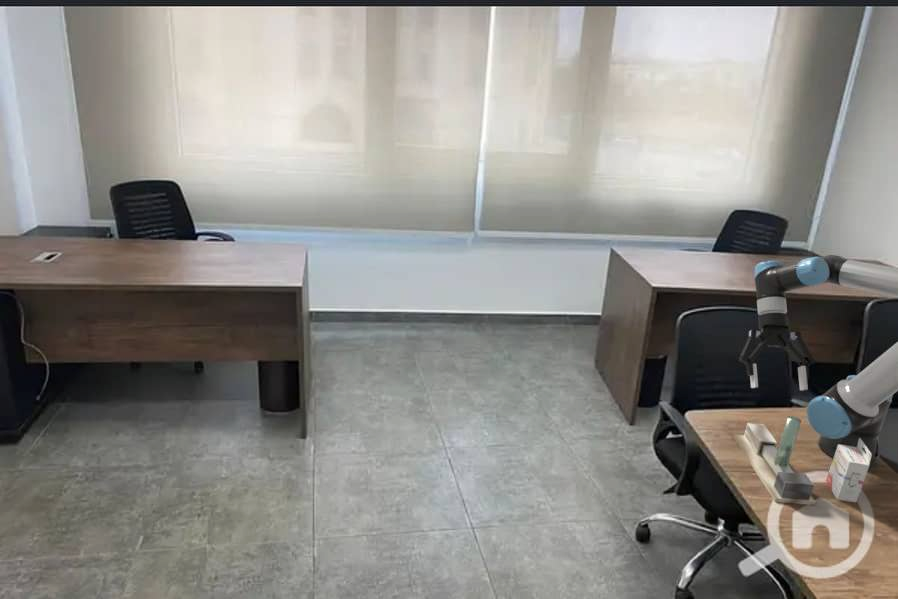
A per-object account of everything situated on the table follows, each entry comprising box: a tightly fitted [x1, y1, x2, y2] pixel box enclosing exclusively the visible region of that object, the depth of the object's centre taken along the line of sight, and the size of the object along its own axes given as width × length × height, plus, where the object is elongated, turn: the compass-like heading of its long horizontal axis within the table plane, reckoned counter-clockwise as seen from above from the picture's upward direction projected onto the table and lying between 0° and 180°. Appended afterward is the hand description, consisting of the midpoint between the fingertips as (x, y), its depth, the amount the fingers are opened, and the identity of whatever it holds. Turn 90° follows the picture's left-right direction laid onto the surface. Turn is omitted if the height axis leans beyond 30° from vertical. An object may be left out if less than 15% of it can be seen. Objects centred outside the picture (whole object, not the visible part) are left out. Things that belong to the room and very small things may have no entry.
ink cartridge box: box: [825, 438, 872, 503], centre depth 166 cm, size 9×5×15 cm, turn 170°
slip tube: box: [760, 415, 802, 475], centre depth 169 cm, size 3×20×16 cm, turn 177°
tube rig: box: [733, 422, 817, 506], centre depth 175 cm, size 10×30×6 cm, turn 177°
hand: (779, 388), depth 177 cm, fingers open, 13 cm apart
